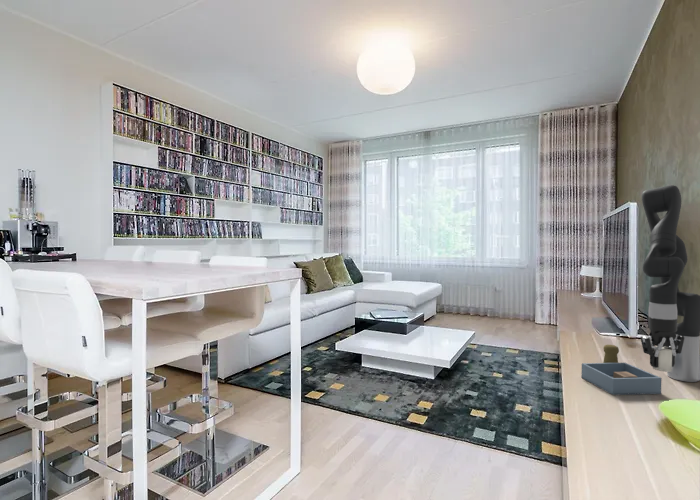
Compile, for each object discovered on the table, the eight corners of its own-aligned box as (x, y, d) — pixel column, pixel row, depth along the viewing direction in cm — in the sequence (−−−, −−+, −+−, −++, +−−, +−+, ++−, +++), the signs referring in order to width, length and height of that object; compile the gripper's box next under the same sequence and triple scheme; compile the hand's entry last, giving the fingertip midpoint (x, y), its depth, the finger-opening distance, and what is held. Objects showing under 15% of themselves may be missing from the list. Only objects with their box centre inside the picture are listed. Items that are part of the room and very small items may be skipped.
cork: (611, 375, 154) (612, 347, 153) (598, 370, 159) (598, 343, 159) (623, 374, 155) (624, 346, 155) (609, 369, 161) (610, 342, 161)
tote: (624, 376, 152) (625, 362, 152) (661, 393, 136) (661, 377, 135) (581, 377, 151) (581, 363, 151) (612, 394, 135) (613, 379, 134)
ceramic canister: (662, 366, 133) (662, 346, 133) (676, 371, 128) (676, 350, 128) (648, 367, 133) (649, 346, 132) (661, 372, 128) (662, 351, 127)
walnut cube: (626, 385, 142) (626, 371, 142) (637, 390, 137) (637, 376, 137) (613, 385, 142) (613, 371, 141) (623, 390, 137) (623, 376, 136)
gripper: (672, 313, 134) (671, 361, 135) (633, 314, 133) (633, 363, 134) (693, 317, 126) (692, 369, 127) (652, 319, 125) (651, 371, 126)
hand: (662, 366), depth 130 cm, fingers closed on ceramic canister, 5 cm apart
